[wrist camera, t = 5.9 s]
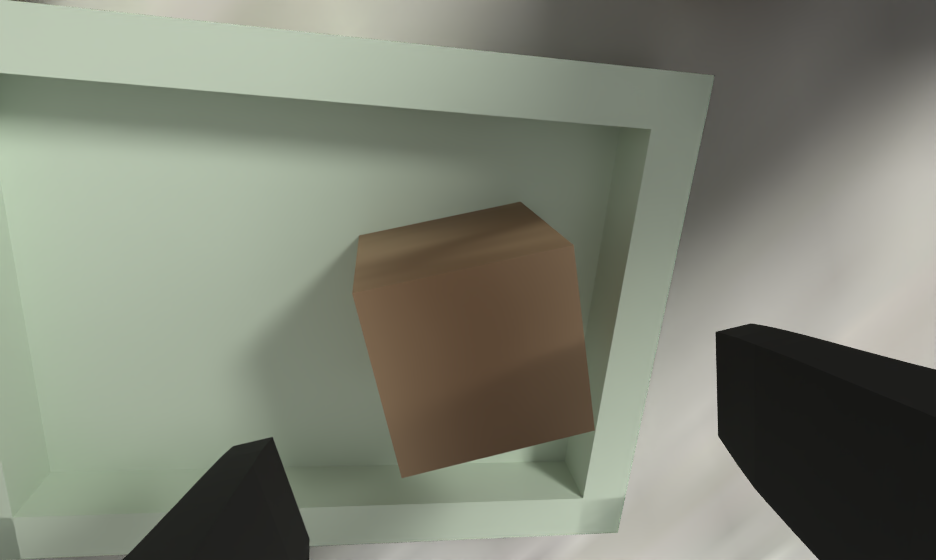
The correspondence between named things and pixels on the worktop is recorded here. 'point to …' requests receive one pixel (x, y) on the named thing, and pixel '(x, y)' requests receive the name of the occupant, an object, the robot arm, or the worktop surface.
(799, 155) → the worktop surface
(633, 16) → the worktop surface
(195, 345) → the tray
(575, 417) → the block
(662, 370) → the worktop surface
